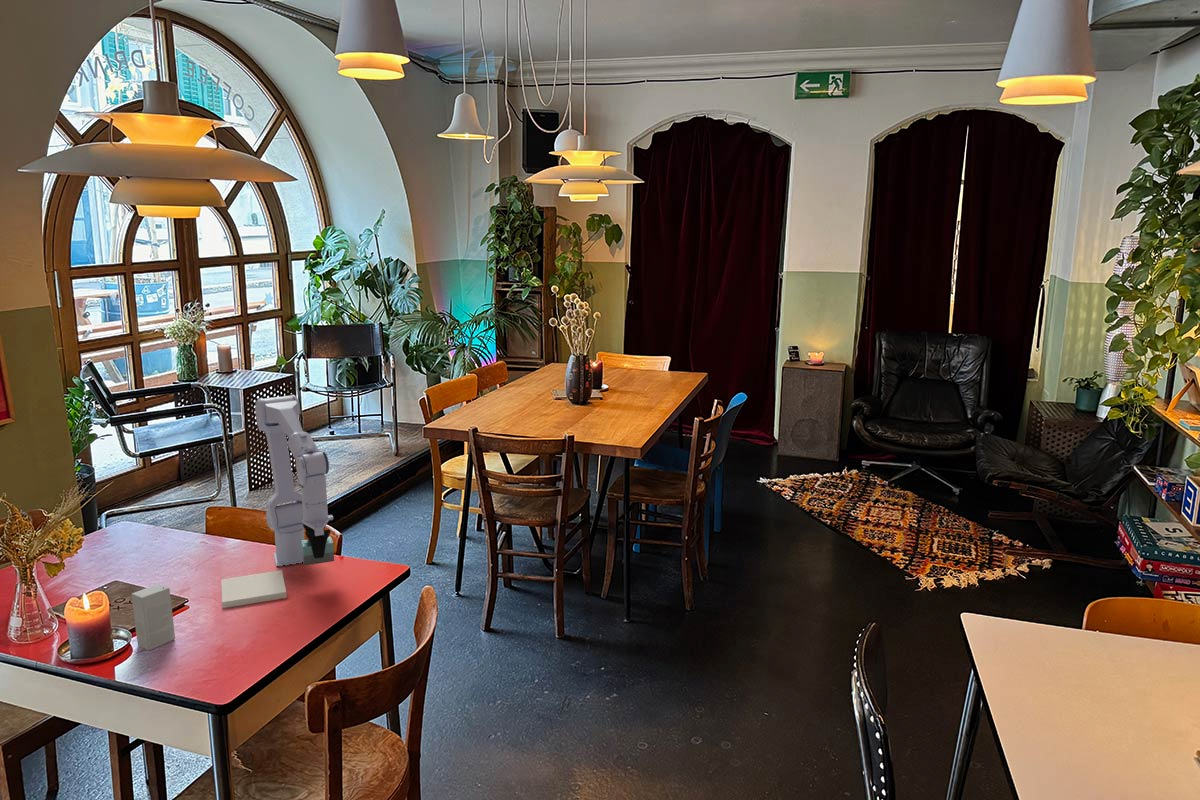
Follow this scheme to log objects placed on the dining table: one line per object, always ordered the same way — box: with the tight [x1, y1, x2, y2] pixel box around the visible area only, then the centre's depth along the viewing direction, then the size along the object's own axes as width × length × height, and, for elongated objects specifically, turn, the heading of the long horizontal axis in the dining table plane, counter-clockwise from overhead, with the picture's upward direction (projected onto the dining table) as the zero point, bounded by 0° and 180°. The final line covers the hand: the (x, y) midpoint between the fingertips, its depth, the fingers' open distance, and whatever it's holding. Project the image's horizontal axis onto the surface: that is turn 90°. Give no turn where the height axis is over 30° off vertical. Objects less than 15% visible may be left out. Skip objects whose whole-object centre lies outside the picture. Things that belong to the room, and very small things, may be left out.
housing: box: [301, 535, 335, 567], centre depth 200 cm, size 5×7×5 cm, turn 115°
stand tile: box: [220, 569, 288, 609], centre depth 198 cm, size 14×14×2 cm
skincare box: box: [130, 583, 176, 652], centre depth 172 cm, size 6×4×12 cm
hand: (317, 553), depth 200 cm, fingers closed on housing, 5 cm apart
